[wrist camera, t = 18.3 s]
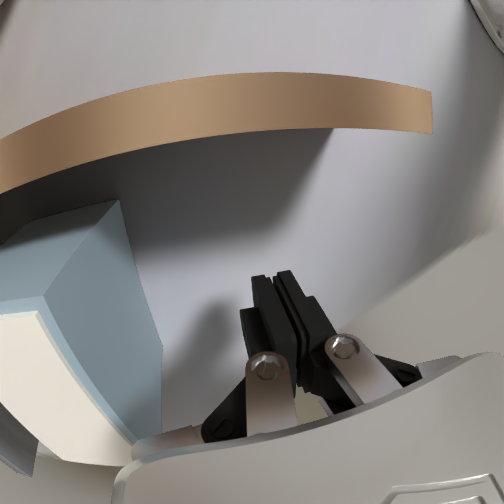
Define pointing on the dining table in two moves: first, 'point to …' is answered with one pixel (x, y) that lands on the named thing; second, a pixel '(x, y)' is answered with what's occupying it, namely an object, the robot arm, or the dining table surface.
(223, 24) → the dining table surface
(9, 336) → the boxed book
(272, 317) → the robot arm
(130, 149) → the shelf
